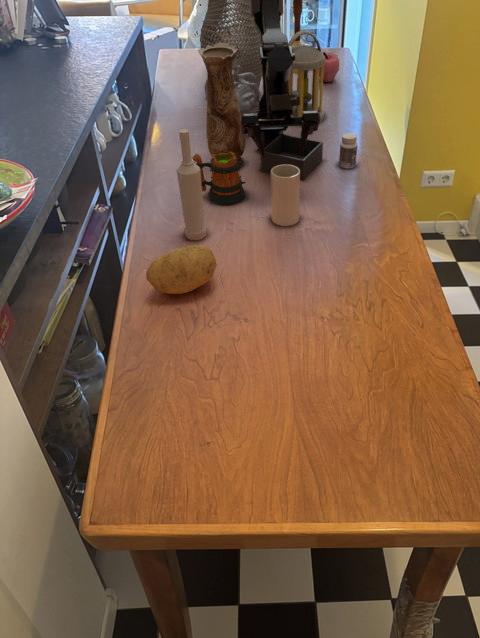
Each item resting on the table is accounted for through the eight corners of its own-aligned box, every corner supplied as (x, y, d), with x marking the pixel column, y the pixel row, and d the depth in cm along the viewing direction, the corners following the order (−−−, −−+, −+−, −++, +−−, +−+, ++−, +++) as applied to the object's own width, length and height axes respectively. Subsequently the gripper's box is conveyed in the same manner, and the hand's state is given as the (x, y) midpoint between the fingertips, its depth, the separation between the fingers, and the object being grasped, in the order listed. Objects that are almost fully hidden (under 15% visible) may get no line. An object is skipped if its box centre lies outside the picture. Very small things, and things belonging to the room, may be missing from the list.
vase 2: (253, 163, 171) (249, 48, 150) (226, 176, 165) (217, 58, 144) (228, 152, 176) (220, 39, 155) (201, 164, 171) (189, 49, 150)
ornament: (199, 137, 184) (192, 69, 170) (226, 113, 197) (221, 48, 184) (252, 145, 179) (250, 76, 166) (276, 120, 193) (276, 54, 179)
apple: (338, 85, 215) (340, 55, 208) (314, 85, 215) (315, 55, 208) (337, 76, 222) (339, 46, 215) (313, 76, 222) (314, 46, 215)
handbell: (302, 74, 223) (303, -4, 206) (274, 68, 228) (273, -8, 211) (318, 65, 231) (321, -11, 213) (291, 59, 235) (292, -15, 218)
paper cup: (266, 222, 148) (265, 174, 139) (279, 209, 152) (278, 162, 144) (291, 228, 146) (292, 180, 137) (303, 215, 150) (304, 167, 141)
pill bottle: (354, 169, 168) (357, 140, 162) (337, 168, 169) (339, 138, 163) (356, 162, 171) (359, 132, 165) (340, 160, 172) (342, 131, 166)
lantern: (314, 106, 201) (317, 22, 184) (330, 122, 192) (335, 35, 174) (274, 111, 198) (273, 26, 181) (288, 128, 188) (289, 40, 171)
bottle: (210, 231, 145) (200, 127, 128) (201, 242, 142) (189, 137, 124) (190, 227, 146) (178, 124, 129) (181, 238, 143) (167, 133, 125)
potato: (219, 299, 126) (216, 260, 119) (149, 304, 125) (142, 265, 118) (217, 271, 133) (214, 233, 126) (151, 276, 132) (144, 238, 125)
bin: (260, 170, 168) (260, 151, 164) (281, 152, 176) (281, 133, 172) (303, 180, 164) (303, 160, 160) (322, 160, 172) (323, 141, 168)
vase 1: (281, 92, 211) (281, -26, 186) (245, 113, 197) (239, -11, 173) (229, 80, 219) (223, -34, 195) (191, 99, 206) (179, -21, 181)
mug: (246, 186, 161) (244, 144, 153) (246, 205, 154) (244, 162, 146) (197, 187, 161) (192, 145, 153) (195, 206, 153) (190, 163, 145)
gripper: (239, 78, 136) (244, 146, 136) (320, 75, 138) (325, 142, 137) (239, 101, 148) (243, 164, 147) (314, 98, 149) (319, 160, 149)
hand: (282, 157), depth 145 cm, fingers open, 9 cm apart
